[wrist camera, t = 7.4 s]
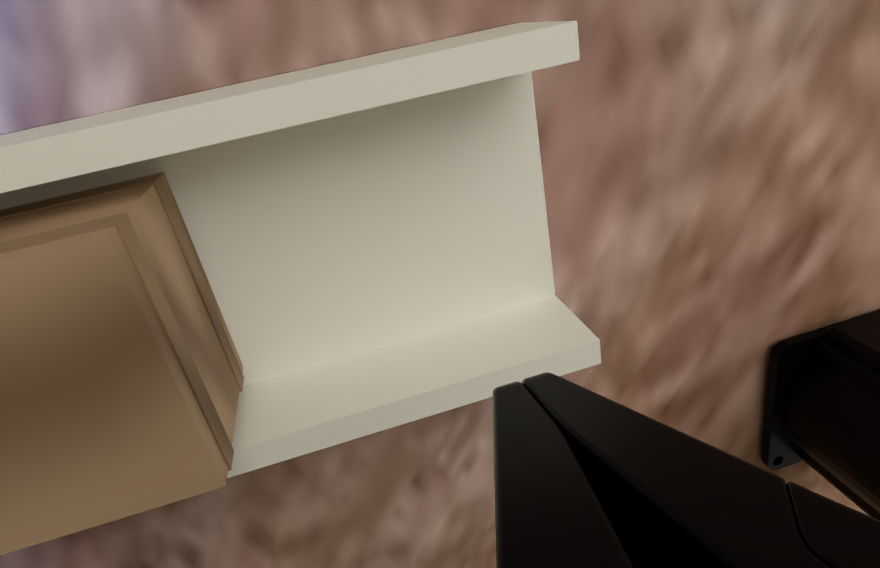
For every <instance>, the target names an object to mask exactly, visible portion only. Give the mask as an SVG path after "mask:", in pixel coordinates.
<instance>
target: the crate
mask: <svg viewBox="0 0 880 568" xmlns="http://www.w3.org/2000/svg"><path fill="white" fill-rule="evenodd" d="M242 372H243V365H242V363H241V360H240V358H239V355H238V353H237V350H236V348H235V345H234V343H233V340H232V338H231V335H230V333H229V331H228V328H227V326H226V323H225V321H224V318H223V316H222V313H221V311H220V308H219V306H218V303H217V301H216V299H215V296H214V294H213V291H212V289H211V286H210V284H209V281H208V279H207V276H206V274H205V272H204V269H203V267H202V264H201V262H200V259H199V257H198V254H197V252H196V249H195V247H194V244H193V242H192V240H191V237H190V235H189V232H188V230H187V227H186V225H185V222H184V220H183V217H182V215H181V212H180V210H179V208H178V205H177V203H176V200H175V198H174V195H173V193H172V190H171V188H170V185H169V183H168V180H167V178H166V176H165V173H164V172H162V173H158V174H153V175H149V176H145V177H140V178H136V179H132V180H127V181H123V182H119V183H114V184H110V185H106V186H101V187H97V188H93V189H88V190H84V191H80V192H75V193H71V194H67V195H62V196H58V197H54V198H49V199H45V200H41V201H36V202H32V203H28V204H23V205H19V206H15V207H10V208H6V209H2V210H0V556H1V555H4V554H7V553H10V552H14V551H17V550H20V549H23V548H27V547H30V546H33V545H36V544H40V543H43V542H46V541H49V540H53V539H56V538H59V537H63V536H66V535H69V534H72V533H76V532H79V531H82V530H85V529H89V528H92V527H95V526H98V525H102V524H105V523H108V522H111V521H115V520H118V519H121V518H125V517H128V516H131V515H134V514H138V513H141V512H144V511H147V510H151V509H154V508H157V507H160V506H164V505H167V504H170V503H173V502H177V501H180V500H183V499H187V498H190V497H193V496H196V495H200V494H203V493H206V492H209V491H213V490H216V489H219V488H222V487H226V482H227V475H228V471H230V470H231V469H232V462H233V454H234V449H233V447H232V441H233V434H234V427H235V420H236V413H237V406H238V399H239V393H240V392H242V389H243V382H244V376H243V374H242Z"/></svg>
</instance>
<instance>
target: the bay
mask: <svg viewBox="0 0 880 568" xmlns="http://www.w3.org/2000/svg"><path fill="white" fill-rule="evenodd" d="M578 60H580V56H579V42H578V28H577V21H559V22H528V23H515V24H510V25H506V26H501V27H497V28H492V29H487V30H483V31H478V32H474V33H469V34H464V35H460V36H455V37H451V38H446V39H441V40H437V41H432V42H428V43H423V44H418V45H414V46H409V47H405V48H400V49H395V50H391V51H386V52H382V53H377V54H372V55H368V56H363V57H359V58H354V59H349V60H345V61H340V62H336V63H331V64H326V65H322V66H317V67H313V68H308V69H303V70H299V71H294V72H290V73H285V74H280V75H276V76H271V77H267V78H262V79H257V80H253V81H248V82H244V83H239V84H234V85H230V86H225V87H221V88H216V89H211V90H207V91H202V92H198V93H193V94H188V95H184V96H179V97H175V98H170V99H165V100H161V101H156V102H152V103H147V104H142V105H138V106H133V107H129V108H124V109H119V110H115V111H110V112H106V113H101V114H96V115H92V116H87V117H83V118H78V119H73V120H69V121H64V122H60V123H55V124H50V125H46V126H41V127H37V128H32V129H27V130H23V131H18V132H14V133H9V134H4V135H0V210H2V209H6V208H10V207H15V206H19V205H23V204H28V203H32V202H36V201H41V200H45V199H49V198H54V197H58V196H62V195H67V194H71V193H75V192H80V191H84V190H88V189H93V188H97V187H101V186H106V185H110V184H114V183H119V182H123V181H127V180H132V179H136V178H140V177H145V176H149V175H153V174H158V173H162V172H164V173H165V176H166V178H167V180H168V183H169V185H170V188H171V190H172V193H173V195H174V198H175V200H176V203H177V205H178V208H179V210H180V212H181V215H182V217H183V220H184V222H185V225H186V227H187V230H188V232H189V235H190V237H191V240H192V242H193V244H194V247H195V249H196V252H197V254H198V257H199V259H200V262H201V264H202V267H203V269H204V272H205V274H206V276H207V279H208V281H209V284H210V286H211V289H212V291H213V294H214V296H215V299H216V301H217V303H218V306H219V308H220V311H221V313H222V316H223V318H224V321H225V323H226V326H227V328H228V331H229V333H230V335H231V338H232V340H233V343H234V345H235V348H236V350H237V353H238V355H239V358H240V360H241V363H242V365H243V372H242V374H243V376H244V382H243V389H242V392H240V393H239V399H238V406H237V413H236V420H235V427H234V434H233V441H232V447H233V449H234V454H233V462H232V469H231V470H230V471H228V475H227V478H230V477H233V476H236V475H239V474H243V473H246V472H249V471H252V470H256V469H259V468H262V467H265V466H269V465H272V464H275V463H279V462H282V461H285V460H288V459H292V458H295V457H298V456H301V455H305V454H308V453H311V452H314V451H318V450H321V449H324V448H327V447H331V446H334V445H337V444H340V443H344V442H347V441H350V440H353V439H357V438H360V437H363V436H366V435H370V434H373V433H376V432H379V431H383V430H386V429H389V428H392V427H396V426H399V425H402V424H405V423H409V422H412V421H415V420H418V419H422V418H425V417H428V416H432V415H435V414H438V413H441V412H445V411H448V410H451V409H454V408H458V407H461V406H464V405H467V404H471V403H474V402H477V401H480V400H484V399H487V398H490V397H493V390H494V389H495V388H496V387H499V386H502V385H506V384H509V383H512V382H516V381H518V382H521V383H522V381H523V380H524V379H525V378H528V377H532V376H535V375H538V374H541V373H545V372H549V373H552V374H555V375H557V376H562V375H565V374H568V373H571V372H575V371H578V370H581V369H585V368H588V367H591V366H594V365H598V364H601V352H600V340H599V339H598V338H597V337H596V336H595V335H594V334H593V333H592V332H591V331H590V330H589V329H588V328H587V327H586V326H585V325H584V324H583V323H582V322H581V321H580V320H579V319H578V318H577V317H576V316H575V315H574V314H573V313H572V312H571V311H570V310H569V309H568V308H567V307H566V306H565V304H564V303H563V302H562V301H561V300H560V299H559V298H558V297H557V296H556V295H555V288H554V278H553V269H552V260H551V251H550V241H549V232H548V223H547V213H546V204H545V195H544V185H543V176H542V167H541V158H540V148H539V139H538V130H537V120H536V111H535V102H534V92H533V83H532V74H531V71H534V70H539V69H543V68H547V67H552V66H556V65H560V64H565V63H569V62H573V61H578Z"/></svg>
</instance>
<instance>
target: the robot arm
mask: <svg viewBox="0 0 880 568" xmlns="http://www.w3.org/2000/svg"><path fill="white" fill-rule="evenodd" d="M493 432H494V476H495V519H496V563H497V568H880V310H877V311H874V312H871V313H867V314H864V315H861V316H858V317H855V318H852V319H848V320H845V321H842V322H839V323H836V324H833V325H829V326H826V327H823V328H820V329H817V330H814V331H810V332H807V333H804V334H801V335H798V336H795V337H791V338H788V339H785V340H782V341H780V342H778V343H777V344H776V345H775V346H774V347H773V349H772V350H771V354H770V364H769V376H768V387H767V398H766V410H765V421H764V432H763V444H762V455H761V460H762V462H763V463H764V464H765V465H766V466H767V467H768V468H769V469H771V470H777V469H780V468H783V467H786V466H789V465H791V464H794V463H797V462H800V461H803V460H804V461H805V462H806V463H807V464H809V465H810V466H811V467H812V468H813V469H815V470H816V471H817V472H818V473H819V474H821V475H822V476H823V477H824V478H825V479H826V480H828V481H829V482H830V483H831V484H832V485H834V486H835V487H836V488H837V489H838V490H840V491H841V492H842V493H843V494H844V495H845V496H847V497H848V498H849V499H850V500H851V501H853V502H854V503H855V504H856V505H857V506H859V507H860V508H861V509H862V510H863V511H865V512H866V513H867V514H868V515H869V516H868V515H865V514H863V513H861V512H858V511H856V510H854V509H852V508H849V507H847V506H845V505H842V504H840V503H838V502H835V501H833V500H831V499H828V498H826V497H824V496H822V495H819V494H817V493H815V492H813V491H811V490H808V489H806V488H804V487H802V486H800V485H797V484H795V483H793V482H788V483H787V484H786V483H785V480H784V479H783V478H781V477H779V476H777V475H775V474H773V473H770V472H768V471H766V470H764V469H762V468H759V467H757V466H755V465H753V464H751V463H748V462H746V461H744V460H742V459H740V458H737V457H735V456H733V455H731V454H729V453H726V452H724V451H722V450H720V449H718V448H715V447H713V446H711V445H709V444H707V443H704V442H702V441H700V440H698V439H696V438H693V437H691V436H689V435H687V434H685V433H682V432H680V431H678V430H676V429H674V428H671V427H669V426H667V425H665V424H663V423H660V422H658V421H656V420H654V419H652V418H649V417H647V416H645V415H643V414H641V413H638V412H636V411H634V410H632V409H630V408H627V407H625V406H623V405H621V404H618V403H616V402H614V401H612V400H610V399H607V398H605V397H603V396H601V395H599V394H596V393H594V392H592V391H590V390H588V389H585V388H583V387H581V386H579V385H577V384H574V383H572V382H570V381H568V380H566V379H563V378H561V377H559V376H557V375H555V374H552V373H549V372H545V373H541V374H538V375H535V376H532V377H528V378H525V379H524V380H523V381H522V383H521V382H518V381H516V382H512V383H509V384H506V385H502V386H499V387H496V388H495V389H494V390H493Z"/></svg>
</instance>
